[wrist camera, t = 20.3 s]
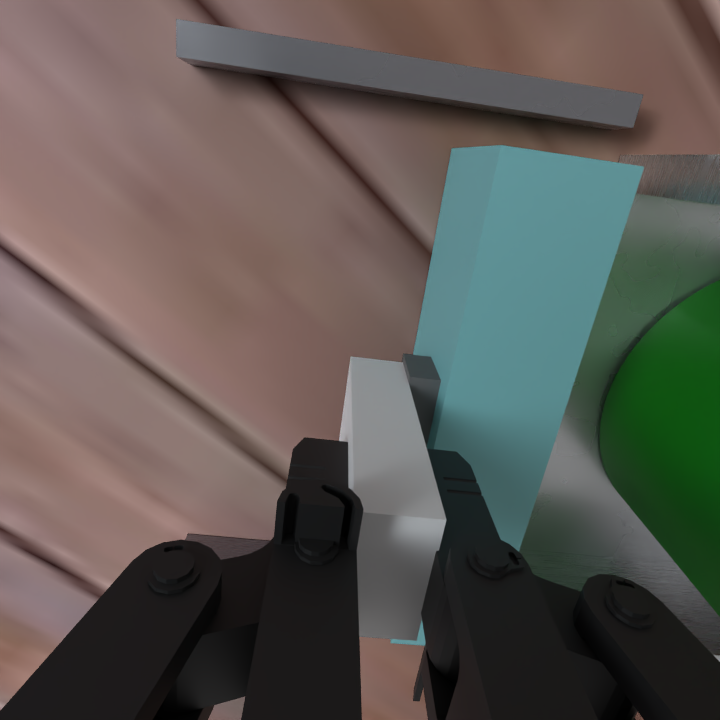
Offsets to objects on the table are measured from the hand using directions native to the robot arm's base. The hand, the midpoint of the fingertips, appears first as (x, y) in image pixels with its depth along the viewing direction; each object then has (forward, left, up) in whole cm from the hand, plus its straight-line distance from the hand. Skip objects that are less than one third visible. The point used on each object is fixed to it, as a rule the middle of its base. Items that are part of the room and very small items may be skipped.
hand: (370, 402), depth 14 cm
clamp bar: (0, +3, -3) cm, 4 cm away
